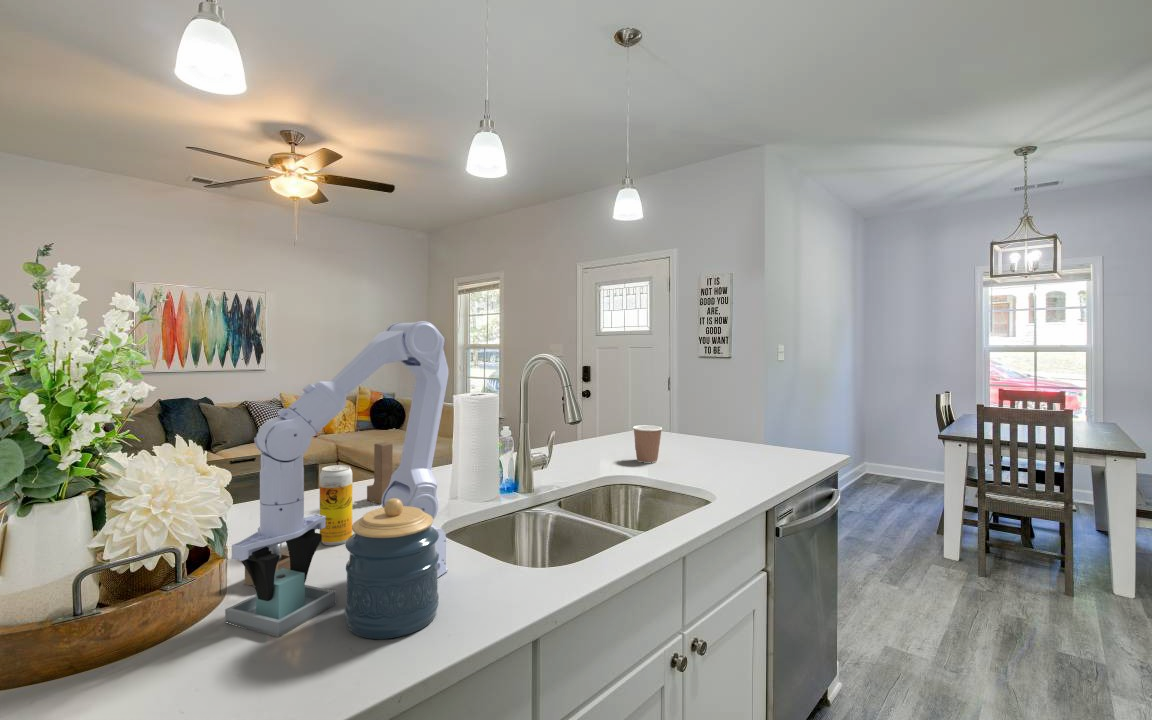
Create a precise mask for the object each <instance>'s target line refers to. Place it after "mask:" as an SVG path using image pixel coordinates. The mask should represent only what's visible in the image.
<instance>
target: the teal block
mask: <svg viewBox="0 0 1152 720" xmlns="http://www.w3.org/2000/svg"><path fill="white" fill-rule="evenodd" d="M305 585H306V581H305V573H303V572H298V571H293V570H288V569H284V568H282V569H280V570H278V571H275V576H274V593H273V598H272V600H270V601H264V600H260V599H258V597H257V593H256V592H255V595H256V614H259V615H263V616H267V617H271V618H275V619H278V620H279V619H281V618H283V617H285V616H286V615H288V614H290V613H292V612H294V611H296V610H298V609H299V608H301V607H303V606H305Z"/></svg>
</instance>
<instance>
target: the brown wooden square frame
mask: <svg viewBox="0 0 1152 720" xmlns="http://www.w3.org/2000/svg"><path fill="white" fill-rule="evenodd" d="M282 568H284V569H288V570H290V557H289V551H283V550H282V561H279V562H278V563H277V566H276V570H275V571H278V570H280V569H282ZM247 584H249V585H248V586H251V585H253V586H252V587H255V586H254V584H253V581H252V579H251V576H250V574H249V572H248V571H247V569H246V568H245V567H244V585H247Z"/></svg>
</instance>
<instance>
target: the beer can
mask: <svg viewBox="0 0 1152 720" xmlns="http://www.w3.org/2000/svg"><path fill="white" fill-rule="evenodd" d="M319 515H323V516H325V528H323V529H319V533H320V534H322V541H321V542H322V544H323V545H325V546H339V545H344V544H346V541H347V540H348V538H349V537H350V536H352V535H353V530H352V525H353V471H352V469H351V465H346V464H338V465H337V464H335V465H329V466H328V465H327V466H325V467H322V468H321V471H320V473H319Z"/></svg>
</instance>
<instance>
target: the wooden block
mask: <svg viewBox="0 0 1152 720" xmlns="http://www.w3.org/2000/svg"><path fill="white" fill-rule="evenodd" d="M373 447H374V448H373V449H374V450H373V451H374V453H373V455H374V457H373V458H374V461H373V463H374V464H373V465H374V466H373V471H374V472H373V474H374V475H373V480H374V481H373V484H370V485H367V486H366V500H367V501H369V502H373V503H375V504H378V505H381V504H382V496H383V494H384V492H385V490H386V489H387V487H388V486H389V483H390V480H391V476H392V474H393V453H394V452H393V449H394V448H393V447H394V446H393V443H392V442H391V443H390V442H385V441H383V442H377V443H374V445H373Z"/></svg>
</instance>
